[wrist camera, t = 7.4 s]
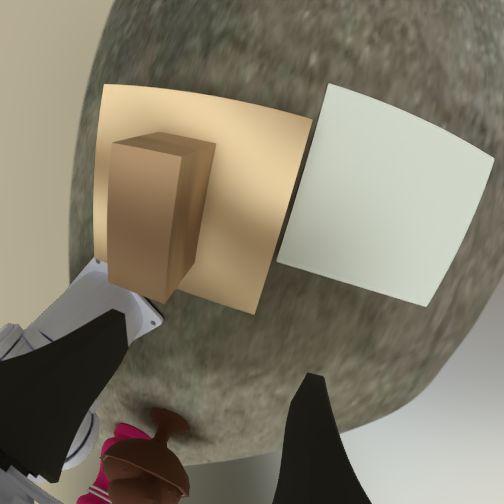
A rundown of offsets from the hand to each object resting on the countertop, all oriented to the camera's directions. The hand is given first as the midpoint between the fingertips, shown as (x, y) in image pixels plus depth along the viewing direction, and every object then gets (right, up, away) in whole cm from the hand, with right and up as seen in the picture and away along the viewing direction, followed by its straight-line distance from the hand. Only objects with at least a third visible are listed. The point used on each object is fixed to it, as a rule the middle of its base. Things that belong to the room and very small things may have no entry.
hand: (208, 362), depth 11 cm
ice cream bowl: (-9, -17, +23) cm, 30 cm away
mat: (+10, +7, +6) cm, 14 cm away
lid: (-2, +7, +4) cm, 8 cm away
